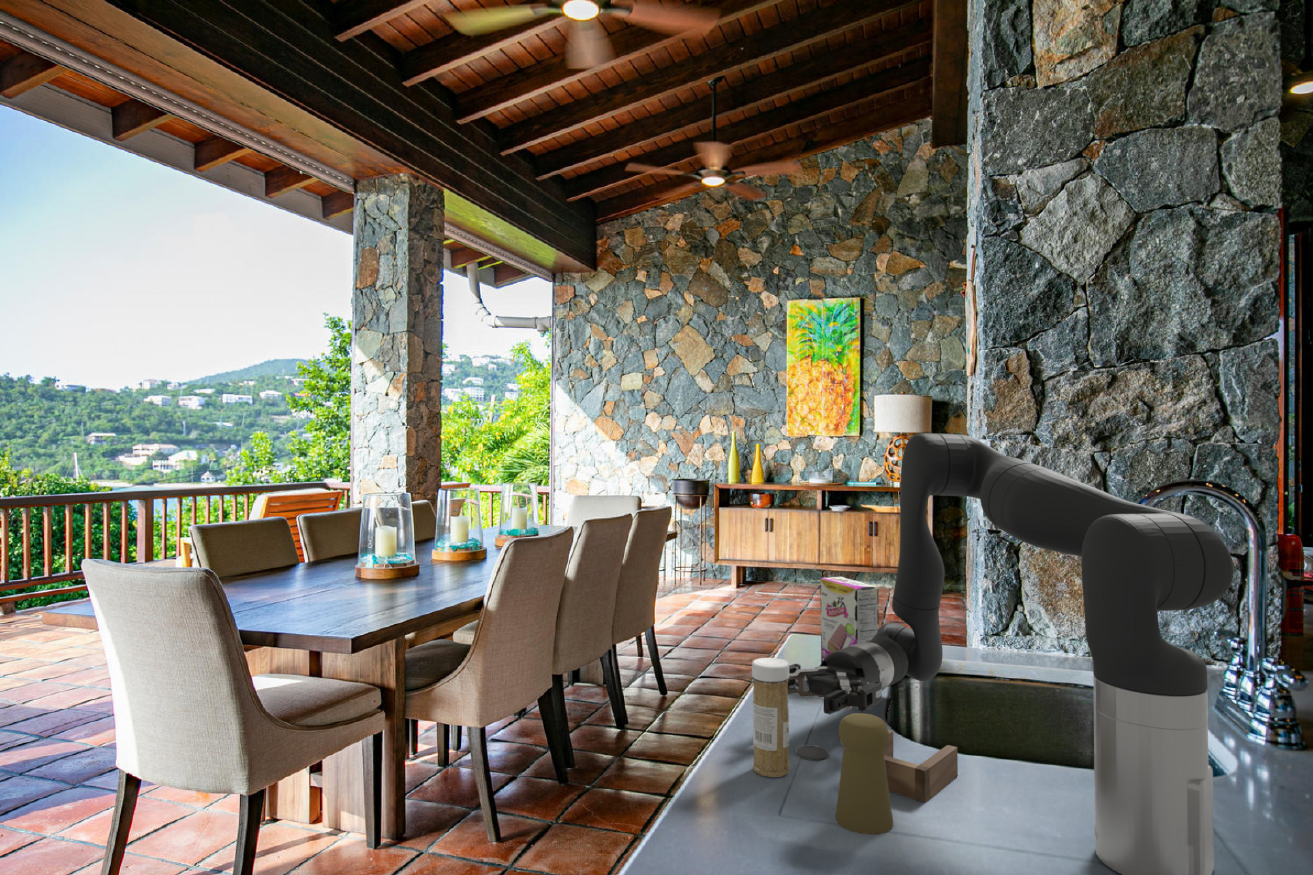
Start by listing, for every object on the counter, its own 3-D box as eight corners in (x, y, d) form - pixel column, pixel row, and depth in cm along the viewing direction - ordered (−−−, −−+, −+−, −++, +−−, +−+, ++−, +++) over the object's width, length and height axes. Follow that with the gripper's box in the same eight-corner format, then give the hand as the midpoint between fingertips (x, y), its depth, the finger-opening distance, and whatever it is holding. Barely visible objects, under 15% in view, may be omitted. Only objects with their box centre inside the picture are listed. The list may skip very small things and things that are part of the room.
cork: (850, 802, 87) (849, 703, 87) (902, 818, 83) (902, 715, 83) (825, 822, 82) (824, 718, 83) (879, 840, 79) (878, 730, 79)
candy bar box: (819, 668, 141) (818, 577, 142) (842, 665, 143) (841, 575, 143) (856, 685, 131) (855, 587, 131) (880, 681, 133) (880, 585, 133)
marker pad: (833, 753, 101) (833, 750, 101) (817, 762, 98) (817, 759, 98) (806, 745, 104) (806, 742, 104) (790, 754, 101) (790, 751, 101)
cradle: (957, 776, 94) (957, 747, 94) (925, 802, 87) (925, 770, 87) (884, 756, 100) (884, 728, 100) (849, 778, 93) (849, 749, 93)
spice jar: (797, 773, 95) (797, 662, 95) (769, 781, 92) (769, 668, 93) (772, 760, 99) (771, 654, 99) (744, 768, 96) (744, 659, 97)
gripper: (814, 638, 117) (751, 659, 105) (904, 654, 107) (846, 680, 95) (814, 688, 117) (751, 715, 105) (904, 709, 107) (846, 741, 95)
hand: (796, 698), depth 100 cm, fingers open, 8 cm apart
